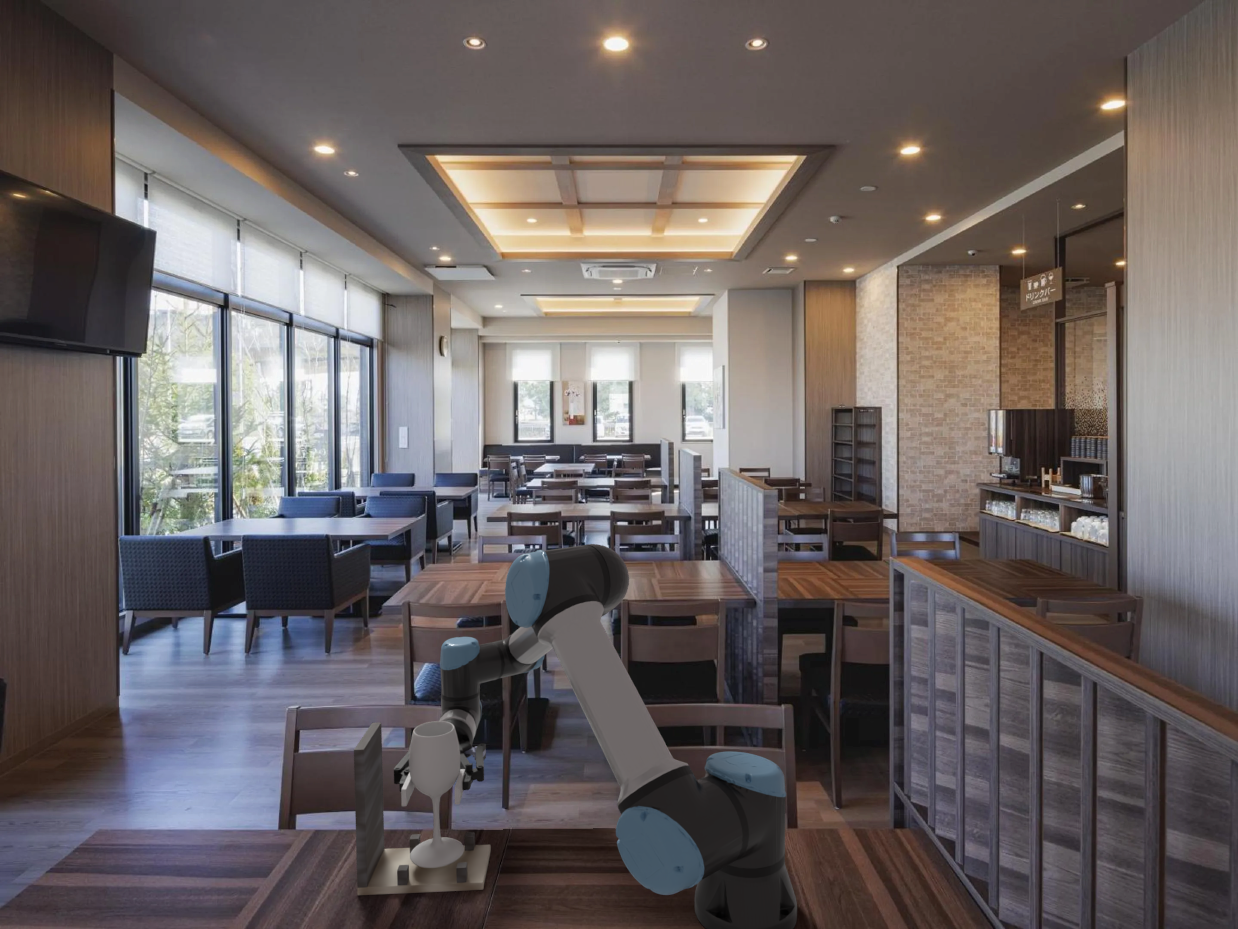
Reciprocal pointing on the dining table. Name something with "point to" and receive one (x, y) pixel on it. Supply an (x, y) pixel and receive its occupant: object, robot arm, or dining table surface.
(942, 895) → the dining table surface
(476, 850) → the pegged display stand
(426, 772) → the wineglass
